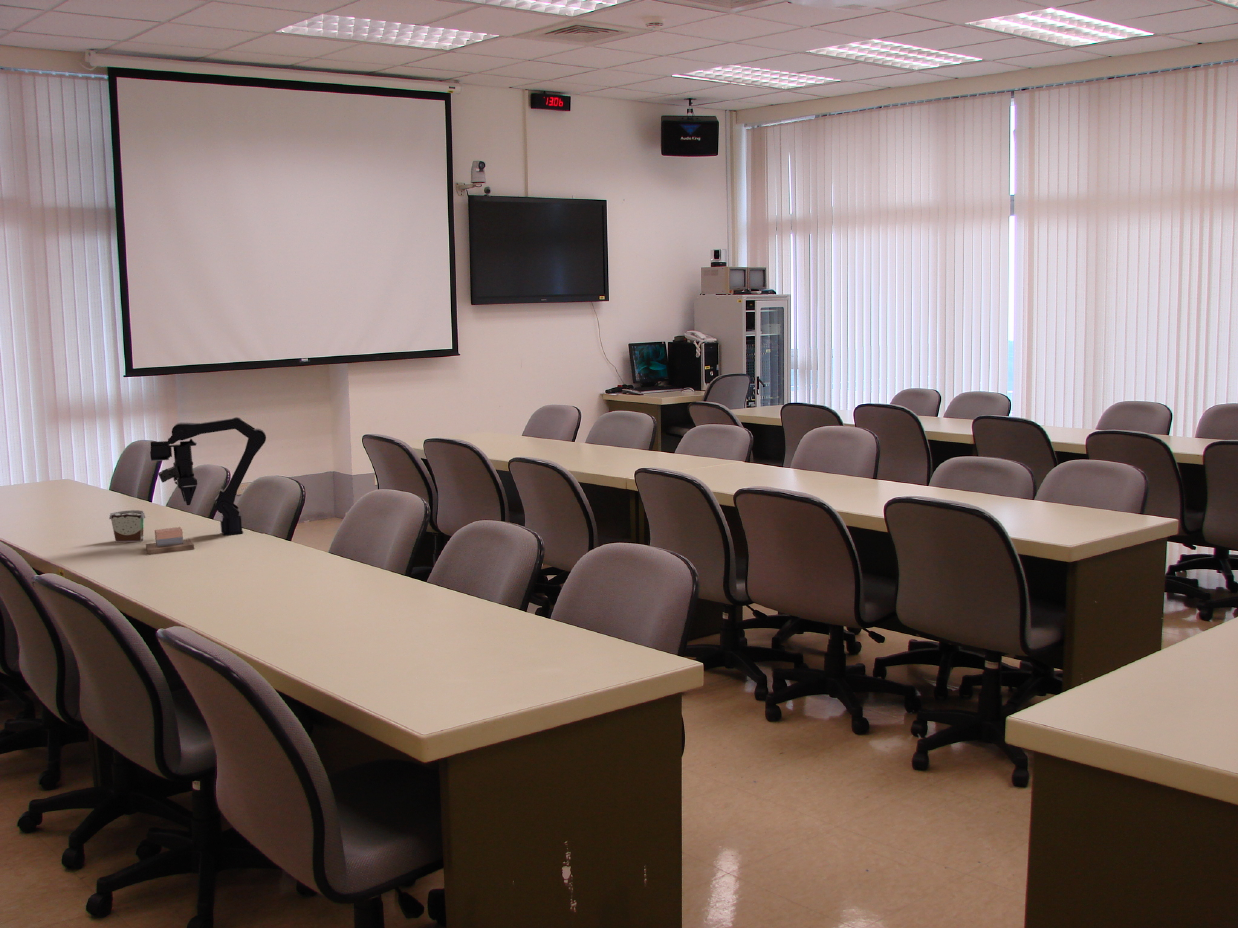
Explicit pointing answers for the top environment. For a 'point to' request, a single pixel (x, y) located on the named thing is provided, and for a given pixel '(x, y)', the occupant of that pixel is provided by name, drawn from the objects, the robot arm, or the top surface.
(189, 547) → the walnut stand
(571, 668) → the top surface
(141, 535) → the food container
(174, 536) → the block
